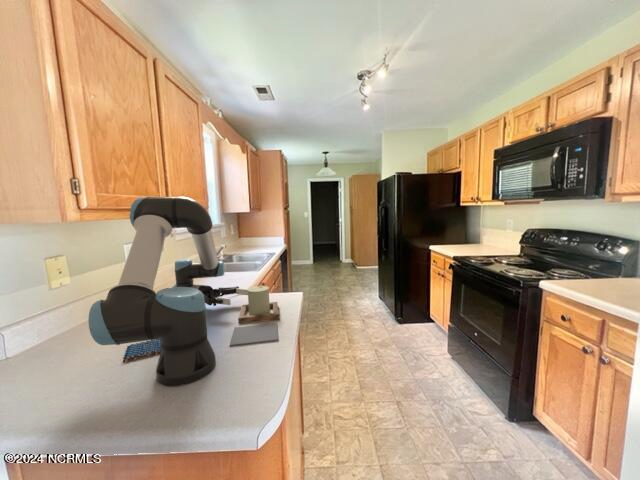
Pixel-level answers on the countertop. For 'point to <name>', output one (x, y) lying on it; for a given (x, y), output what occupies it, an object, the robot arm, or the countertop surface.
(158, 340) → the woven mat
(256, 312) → the can
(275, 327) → the pad
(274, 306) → the cradle
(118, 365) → the countertop surface
